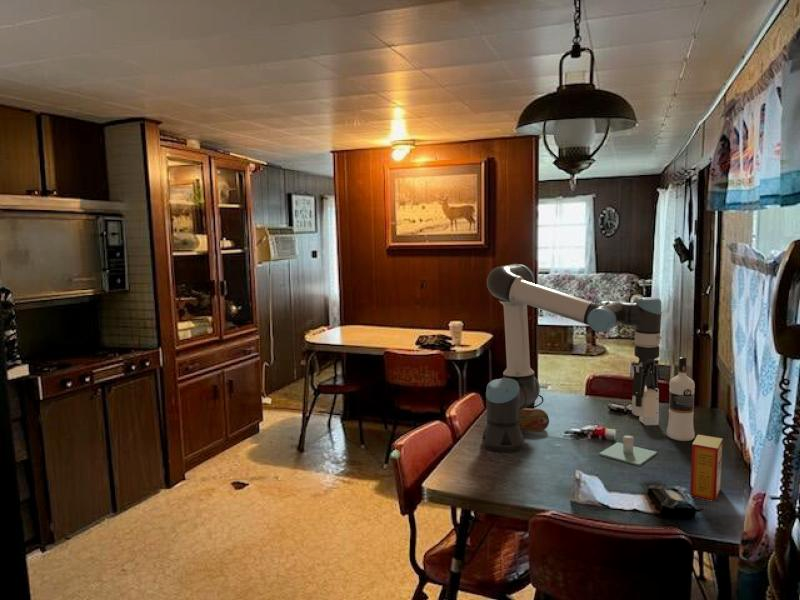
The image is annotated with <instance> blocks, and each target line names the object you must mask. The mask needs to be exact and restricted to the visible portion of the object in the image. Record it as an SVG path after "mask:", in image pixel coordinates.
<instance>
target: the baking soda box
mask: <svg viewBox="0 0 800 600" xmlns="http://www.w3.org/2000/svg"><path fill="white" fill-rule="evenodd" d="M694 438H695V439H693V442H692V444H691V466H690V468H691V469H690V495H692V496H694V497H693V498H696V497H698V498H697V499H700V498H704V499H703V500H705V499H708V500H707V501H709V500H712V501H711V502H714V501H716V502H717V500H716V499H718V497H719V495H718V494H720V492H719V491H721V484H722V467H723V466H722V464H723V463H722V462H723V460H722V459H723V440H724V439H723V437H722V438H721V437H717V436H711V435H710V436H709V435H705V434H697V435H696V437H694ZM690 495H689V496H690Z"/></svg>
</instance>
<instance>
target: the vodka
mask: <svg viewBox="0 0 800 600" xmlns="http://www.w3.org/2000/svg"><path fill="white" fill-rule="evenodd" d="M687 361H688V358H687V357H684V356H680V357H678V374H677V375H675V376H673V377H672V378H670V379H669V383H668V384H669V390H668V391H669V402H668V403H669V405H668V406H669V409H668V423H667V428H666V435H667V437H668V438H670V439H671V440H674V441H679V442H689V441H692V440H694V438H695V430H694V429H695V427H694V414H695V412H694V411H695V410H694V409H695V408H694V407H695V406H694V405H695V391H696V390H695V388H696V384H695V381H694V380H693V379H692V378H691V377H689V376H688V375H687V367H688V366H687Z"/></svg>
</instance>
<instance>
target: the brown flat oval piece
mask: <svg viewBox="0 0 800 600" xmlns="http://www.w3.org/2000/svg"><path fill="white" fill-rule="evenodd" d="M549 424H550V418H549V416H548V413H547V412H546V411H545V410H543V409H541V408H534V409H524V408H523V409H521V410H520V411H519V426H520V429H521V432H522V431H523V432H524V431H525V432H526V431H527V432H542V431H545V430H546V429H547V428H548V426H549Z"/></svg>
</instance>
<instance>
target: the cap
mask: <svg viewBox="0 0 800 600" xmlns="http://www.w3.org/2000/svg"><path fill="white" fill-rule="evenodd" d="M631 397H632V401H631V413H632V414H633V415H634V416H636V415H635V396H631ZM643 397H645V401H644V417H653V416H655V415H656V397H657V395H656V391H655V390H654V389H651V388H645V390H644V395H643Z"/></svg>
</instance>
